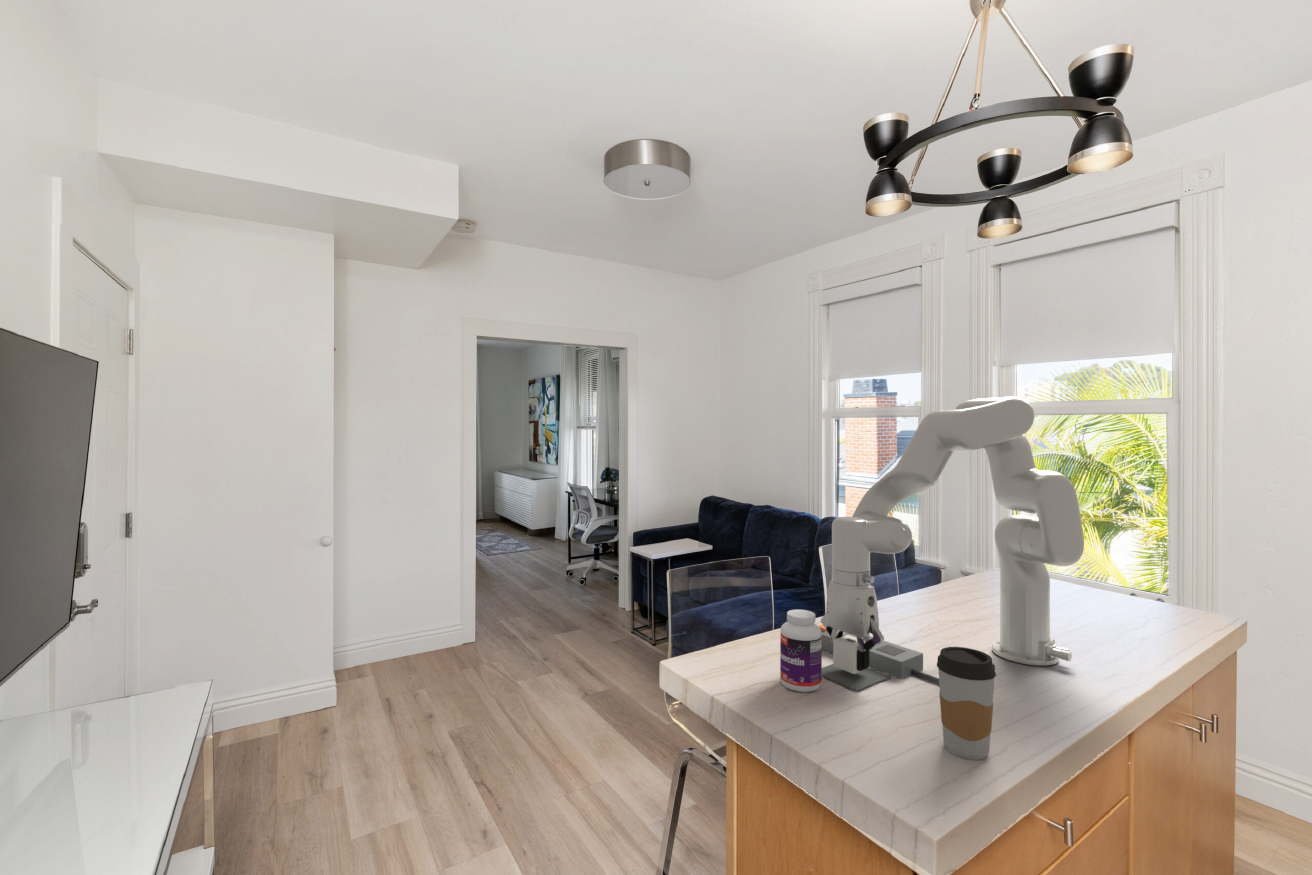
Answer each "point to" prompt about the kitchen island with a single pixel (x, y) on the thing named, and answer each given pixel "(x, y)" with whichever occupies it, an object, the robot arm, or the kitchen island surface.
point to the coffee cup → (966, 700)
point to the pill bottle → (801, 652)
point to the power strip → (888, 658)
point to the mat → (853, 677)
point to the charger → (846, 653)
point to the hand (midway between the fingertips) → (850, 663)
